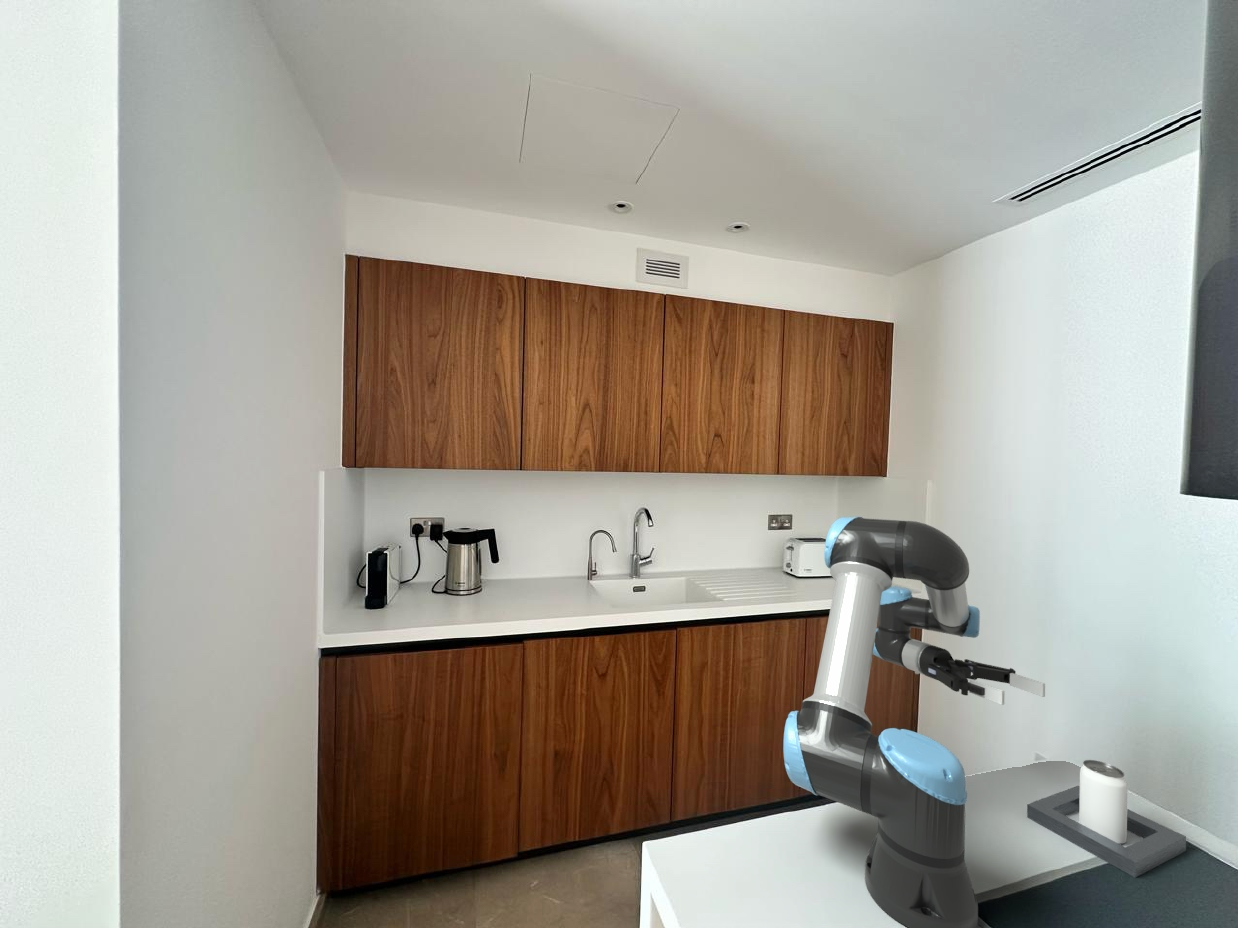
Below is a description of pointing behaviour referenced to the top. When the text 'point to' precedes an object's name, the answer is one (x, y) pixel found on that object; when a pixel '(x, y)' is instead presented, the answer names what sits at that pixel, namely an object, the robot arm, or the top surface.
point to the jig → (1129, 859)
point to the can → (1103, 800)
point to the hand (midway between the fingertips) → (1024, 693)
